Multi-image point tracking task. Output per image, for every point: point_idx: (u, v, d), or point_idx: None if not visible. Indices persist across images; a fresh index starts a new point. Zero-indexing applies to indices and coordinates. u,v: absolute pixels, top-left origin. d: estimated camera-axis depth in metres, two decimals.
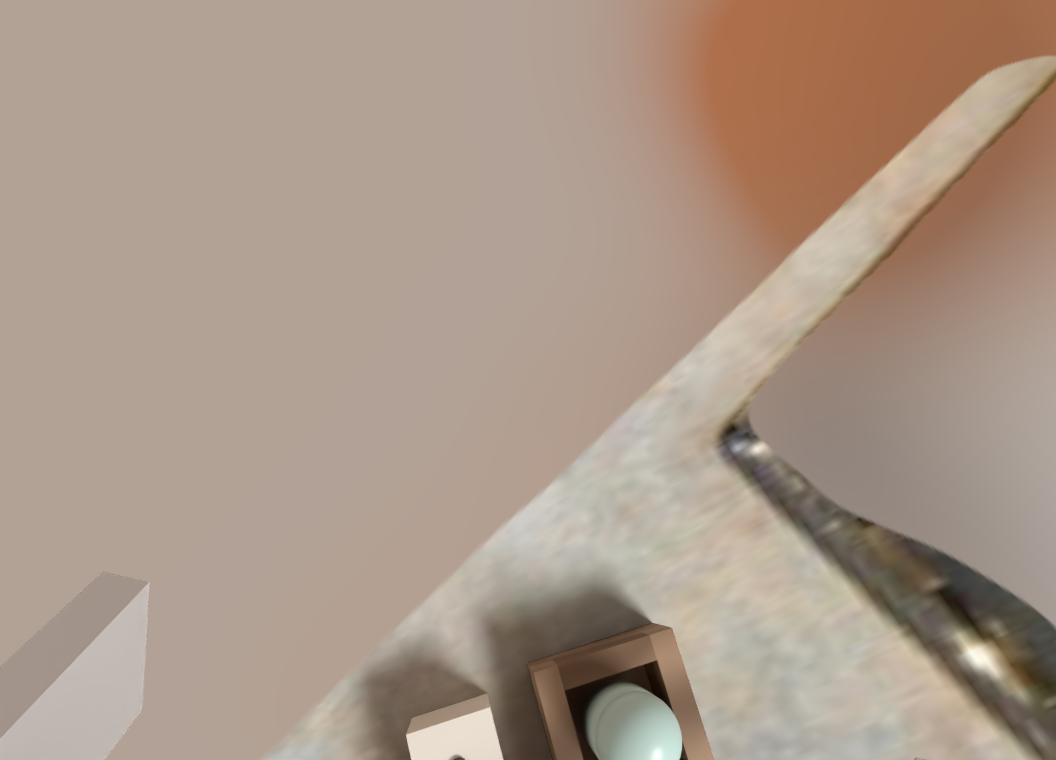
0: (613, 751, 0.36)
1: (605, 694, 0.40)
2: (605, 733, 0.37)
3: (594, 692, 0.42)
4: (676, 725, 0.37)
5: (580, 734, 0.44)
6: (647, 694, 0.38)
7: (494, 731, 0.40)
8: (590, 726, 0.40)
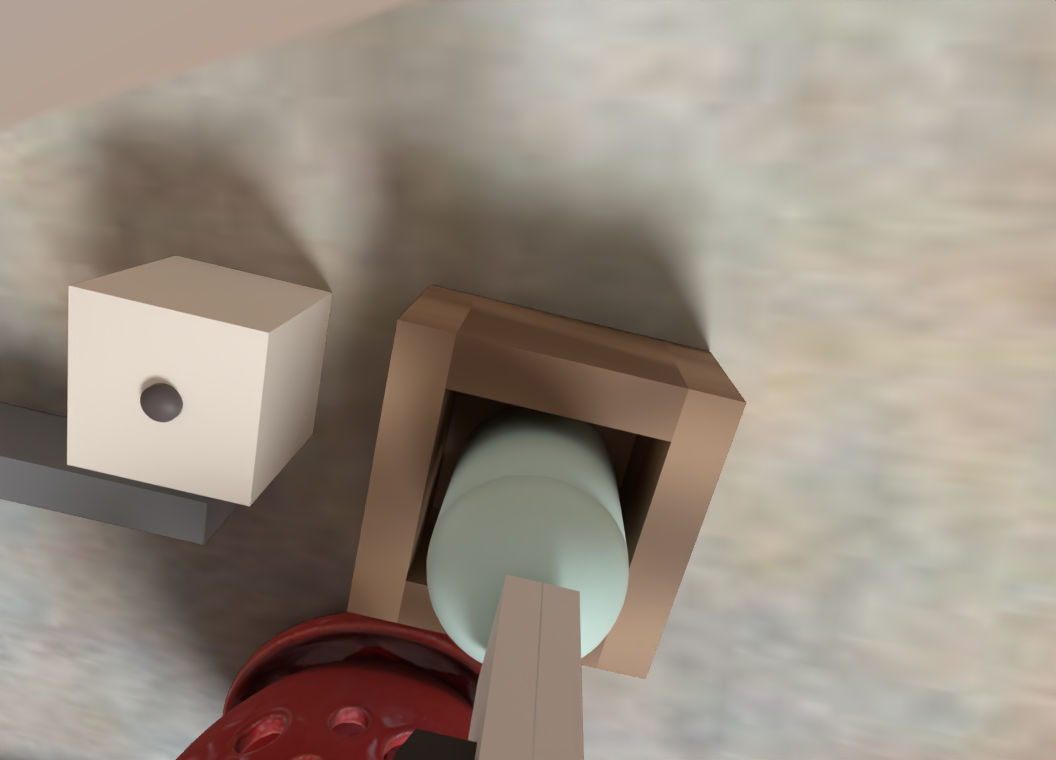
0: (446, 583, 0.15)
1: (521, 440, 0.17)
2: (454, 537, 0.15)
3: (514, 411, 0.20)
4: (616, 606, 0.15)
5: None
6: (597, 512, 0.15)
7: (260, 381, 0.17)
8: (456, 478, 0.18)
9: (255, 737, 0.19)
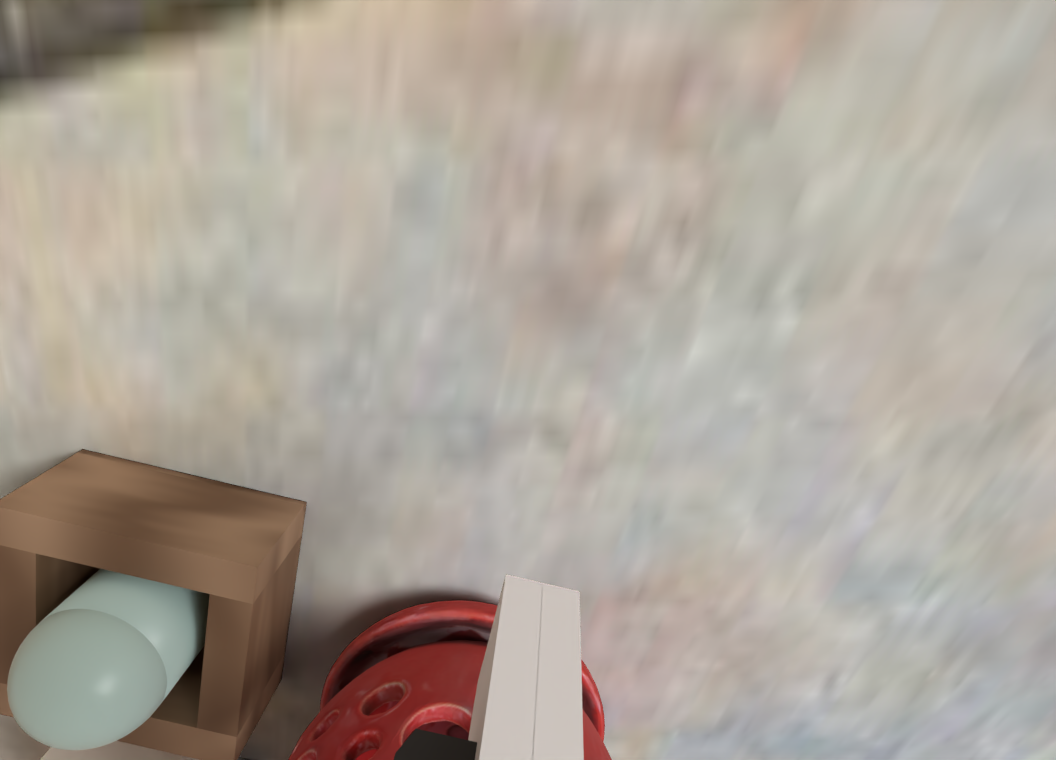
0: None
1: None
2: None
3: None
4: (62, 643, 0.21)
5: None
6: (26, 637, 0.22)
7: None
8: None
9: None
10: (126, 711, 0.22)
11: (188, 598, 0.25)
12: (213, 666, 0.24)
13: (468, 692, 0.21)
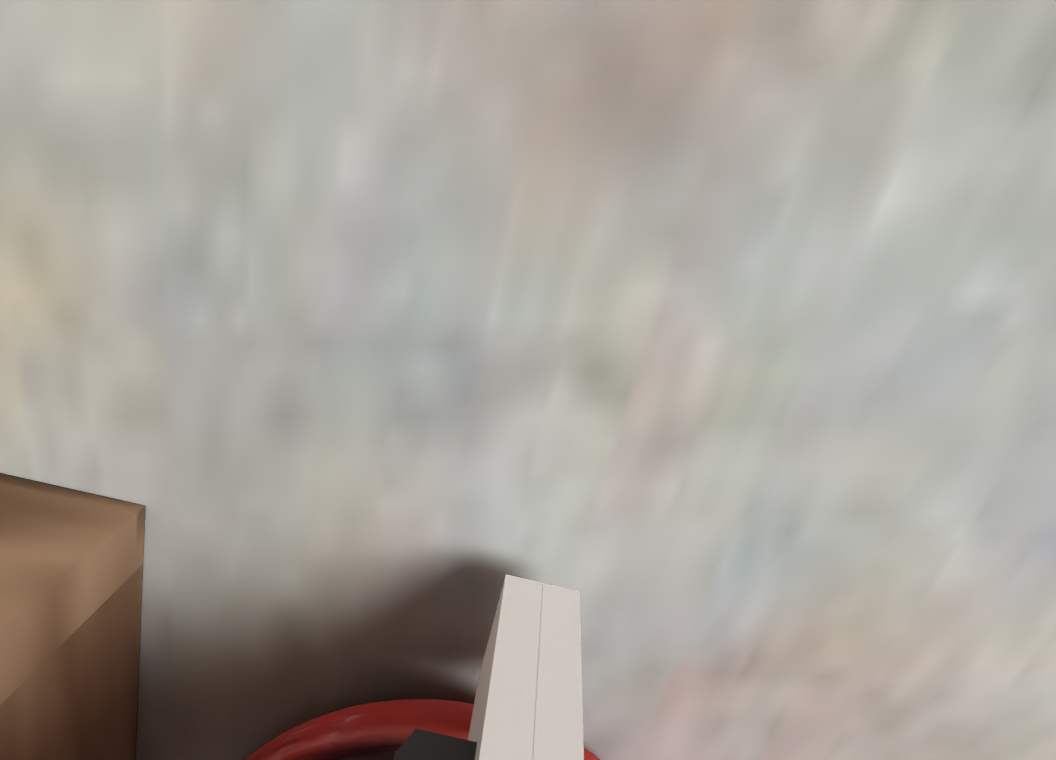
0: None
1: None
2: None
3: None
4: None
5: None
6: None
7: None
8: None
9: None
10: None
11: None
12: None
13: None
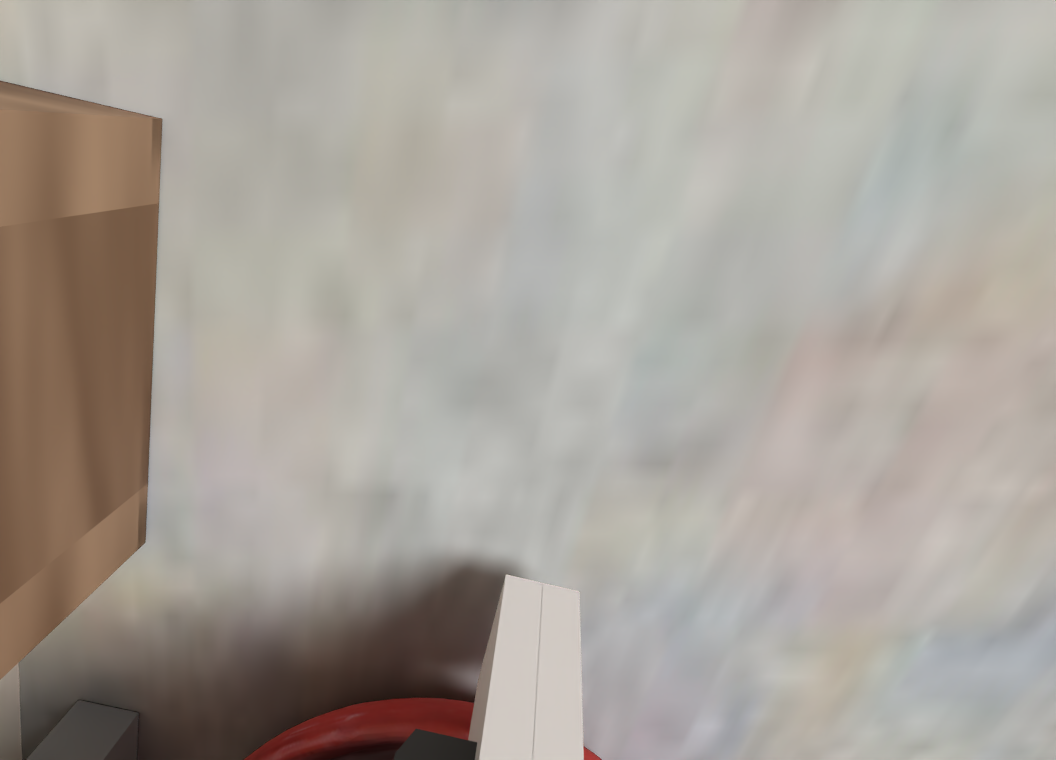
0: None
1: None
2: None
3: None
4: None
5: None
6: None
7: None
8: None
9: None
10: None
11: None
12: None
13: None
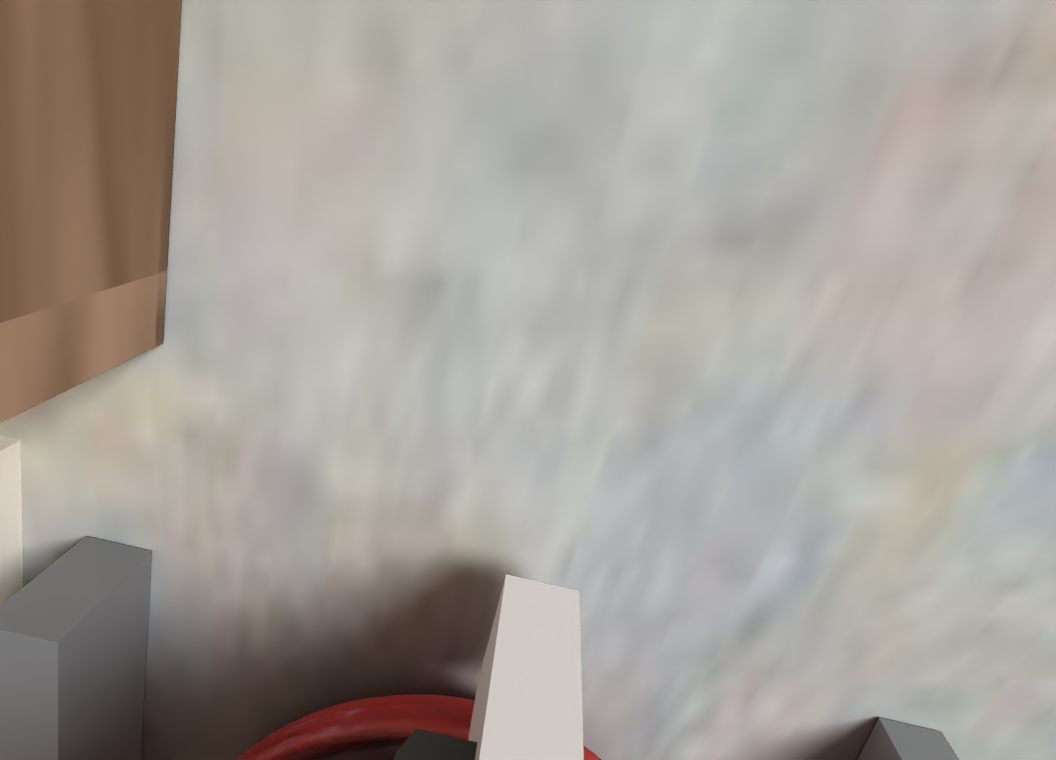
0: None
1: None
2: None
3: None
4: None
5: None
6: None
7: None
8: None
9: None
10: None
11: None
12: None
13: None
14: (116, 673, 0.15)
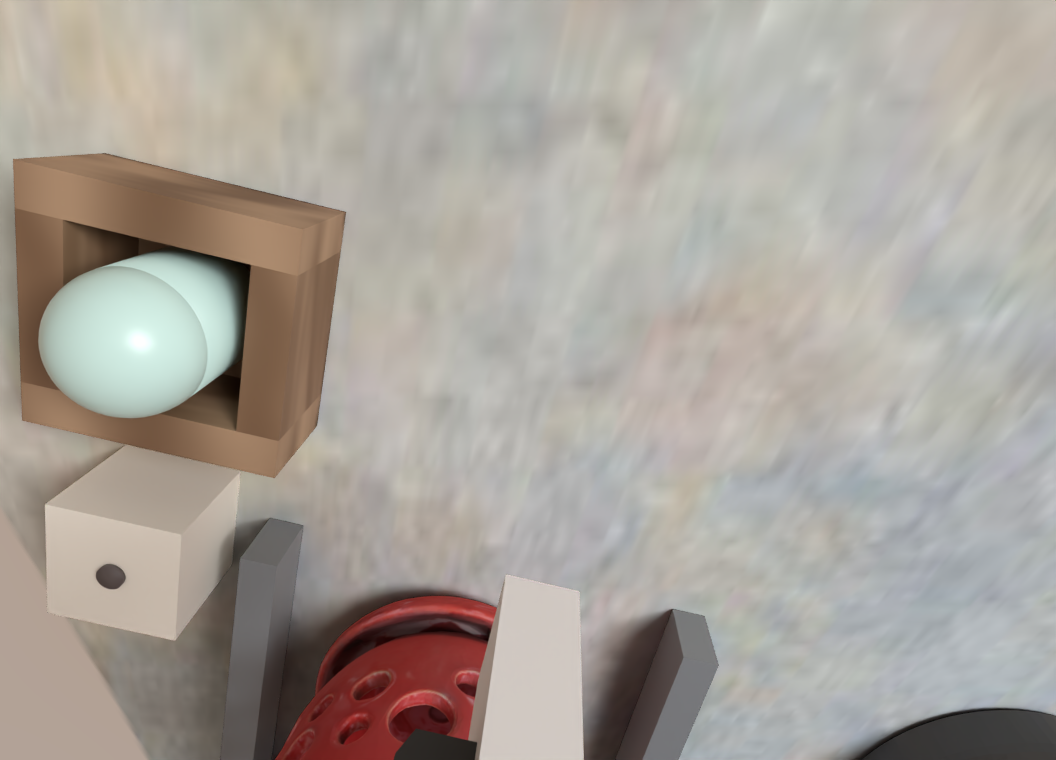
0: (92, 410, 0.21)
1: None
2: None
3: None
4: (97, 286, 0.20)
5: None
6: None
7: (81, 514, 0.25)
8: None
9: None
10: (167, 366, 0.20)
11: (226, 289, 0.23)
12: (254, 355, 0.23)
13: (445, 680, 0.25)
14: (287, 586, 0.30)
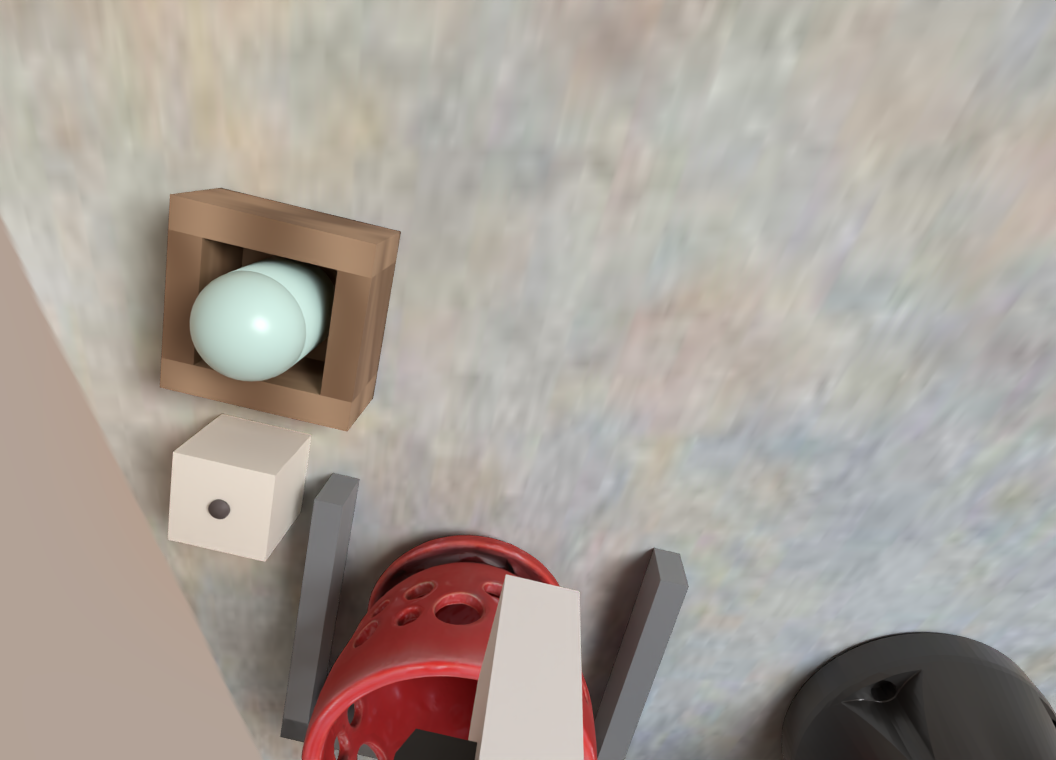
0: (225, 373, 0.29)
1: None
2: (211, 367, 0.29)
3: None
4: (235, 284, 0.28)
5: None
6: (201, 291, 0.29)
7: (200, 459, 0.33)
8: None
9: (359, 711, 0.36)
10: (281, 342, 0.28)
11: (315, 288, 0.31)
12: (337, 337, 0.31)
13: (476, 586, 0.32)
14: (347, 527, 0.38)
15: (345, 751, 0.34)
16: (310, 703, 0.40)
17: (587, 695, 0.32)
